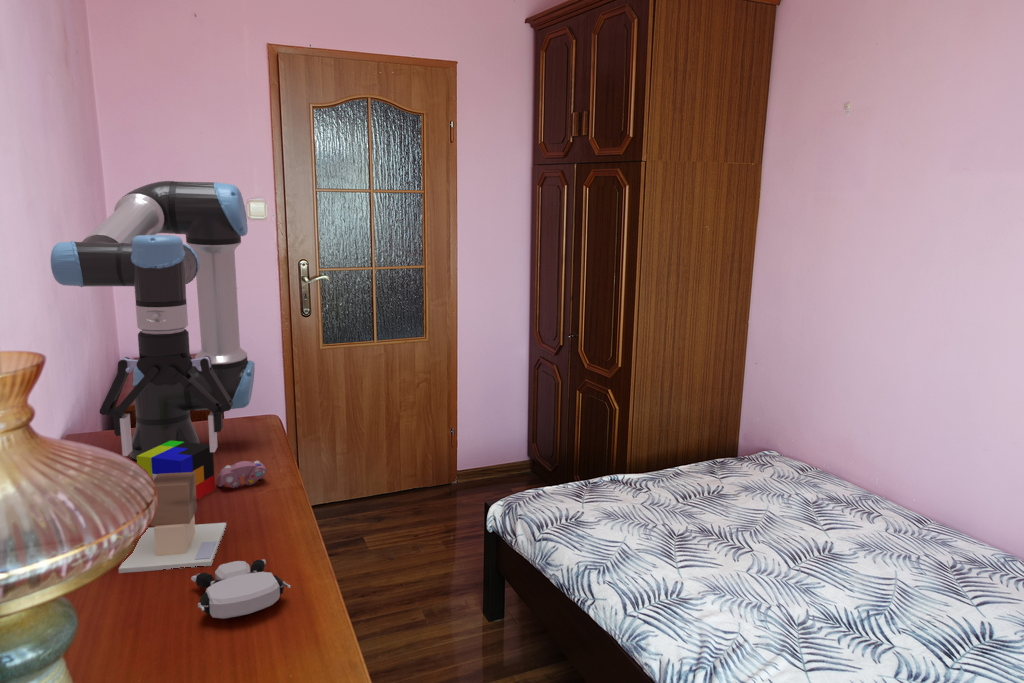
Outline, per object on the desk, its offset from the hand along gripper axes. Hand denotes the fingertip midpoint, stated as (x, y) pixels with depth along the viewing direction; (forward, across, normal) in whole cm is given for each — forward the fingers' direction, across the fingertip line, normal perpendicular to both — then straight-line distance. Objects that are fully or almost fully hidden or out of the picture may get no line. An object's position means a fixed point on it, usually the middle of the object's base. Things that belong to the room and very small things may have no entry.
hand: (171, 451), depth 118 cm
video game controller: (+18, +7, +27) cm, 34 cm away
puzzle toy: (+18, -5, +23) cm, 30 cm away
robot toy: (+18, +13, -20) cm, 30 cm away
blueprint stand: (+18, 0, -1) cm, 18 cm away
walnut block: (+12, 0, -1) cm, 12 cm away
